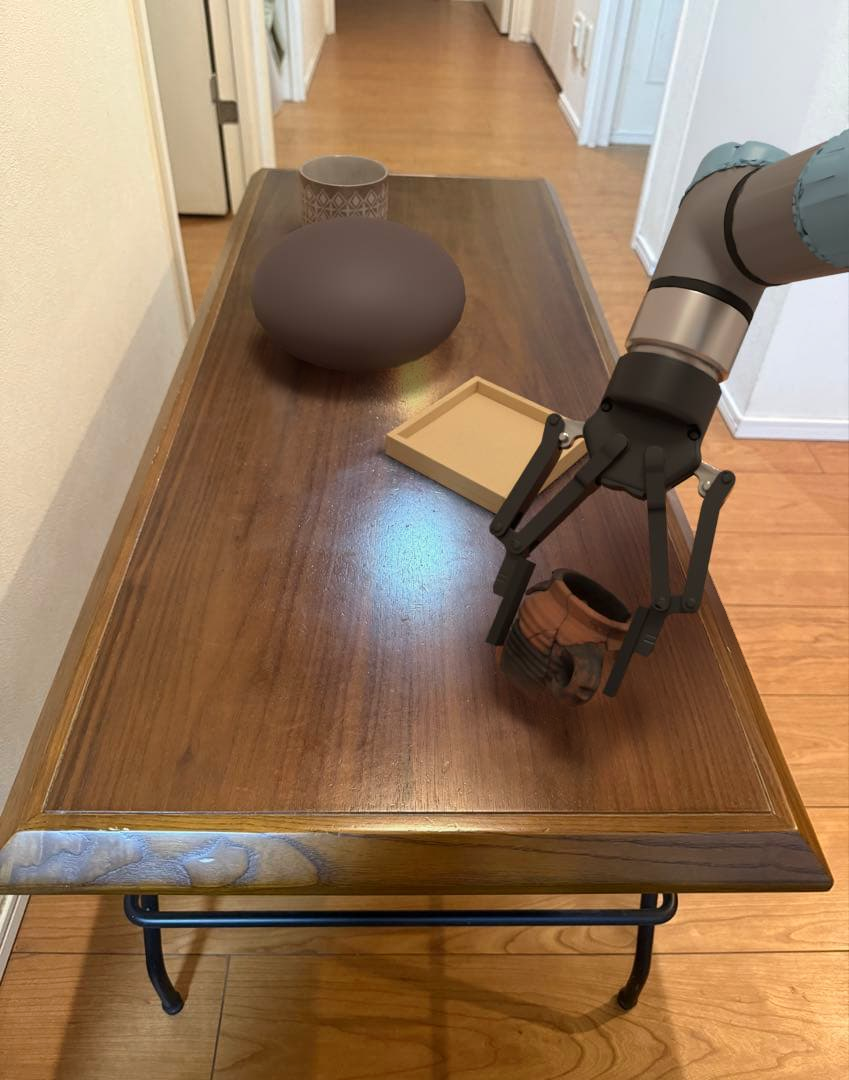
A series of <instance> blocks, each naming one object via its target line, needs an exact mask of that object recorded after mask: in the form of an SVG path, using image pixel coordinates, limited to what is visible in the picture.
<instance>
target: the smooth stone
mask: <svg viewBox="0 0 849 1080" xmlns="http://www.w3.org/2000/svg"><path fill="white" fill-rule="evenodd" d="M249 295H250V296H249V297H250V301H251V305H252V308H253V312H254V316H255V318H256V321H257V322H258V323H259V325H260V326H261V327H262V329H263V331H265V333H266V334H267V336H268V338H270V339H271V340H272V341H273V342H275V343H276V344H277V345H278V346H279V347H281V349H283V350H284V351H286V352H287V353H289V354H291V355H292V356H294V357H296V358H298V359H299V360H302V361H305V362H308V363H310V364H313V365H316V366H319V367H322V368H326V369H330V370H333V371H339V372H340V371H342V372H350V373H369V372H370V373H371V372H381V371H386V370H390V369H395V368H399V367H401V366H404V365H407V364H410V363H414V362H416V361H419V360H420V359H422V358H425V357H426V356H428V355H430V354H431V353H433V352H434V351H435V350H436V349H438V348H439V347H440V346H441V345H442V344H444V343H445V342H446V341H447V340H448V339H449V338H450V337H451V335H452V333H454V331H455V330H456V328H457V327H458V325H459V323H460V322H461V320H462V317H463V313H464V309H465V305H466V301H467V295H466V287H465V280H464V277H463V274H462V272H461V271H460V268H459V266H458V264H457V263H456V261H455V260H454V258H453V257H452V256H451V255H450V253H449V252H448V251H447V250H446V249H445V248H444V247H443V246H442V245H440V244H439V243H438V241H435V240H434V239H433V238H431V237H430V236H428V235H427V234H425V233H424V232H421V231H420V230H418V229H417V228H413V227H411V226H409V225H405V224H402V223H400V222H396V221H392V220H389V219H388V220H385V219H380V218H373V217H356V216H352V217H339V218H332V219H327V220H323V221H319V222H315V223H312V224H309V225H306V226H303V227H302V226H301V227H299V228H297V229H295V230H293V231H291V232H290V233H288V234H286V235H285V236H283V237H282V238H280V239H279V240H278V241H276V242H275V243H273V245H271V246H270V248H269V249H268V250H267V251H266V252H265V253H264V254H263V256H262V257H261V258H260V260H259V262H258V263H257V266H256V268H255V270H254V272H253V274H252V279H251V285H250V294H249Z"/></svg>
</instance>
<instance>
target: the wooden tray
mask: <svg viewBox="0 0 849 1080" xmlns="http://www.w3.org/2000/svg"><path fill="white" fill-rule="evenodd" d="M552 413H557V414H559V415H561V417H562V418H563V419H569V420H572V419H571V418H569V417H567V416H565V415H562V414H560V413H558V412H555V411H554V410H552V409H549V408H547V407H545V406H543V405H541V404H539V403H536V402H534V401H531V400H530V399H527V398H525V397H523V396H521V395H519V394H517V393H514V392H512V391H510V390H508V389H506V388H504V387H501V386H499V385H497V384H495V383H493V382H490V381H489V380H486V379H484V378H482V377H480V376H478V375H474V376H473V377H471V378H470V379H469V380H467V381H465V382H464V383H462V384H461V385H459V386H458V387H456V388H455V389H453V390H451V391H450V392H449V393H447V394H445V395H443V397H441V398H440V399H437V401H435V402H433V403H432V404H430V405H429V406H427V407H426V408H424V409H423V410H421V411H420V412H417V414H415V415H414V416H412V417H410V418H409V419H407V420H406V421H404V422H403V423H400V424H399V425H398V426H397V427H395V428H394V429H392V430H391V431H389V432H387V433H386V434H385V455H387V456H388V457H391V458H392V459H394V460H396V461H398V462H400V463H401V464H404V465H405V466H407V467H409V468H411V469H413V470H414V471H416V472H418V473H419V474H422V475H423V476H426V477H427V478H429V479H431V480H433V481H435V482H436V483H438V484H440V485H442V486H444V487H445V488H447V489H449V490H451V491H453V492H455V493H457V494H458V495H460V496H462V497H464V498H465V499H468V500H470V501H471V502H473V503H475V504H477V505H479V506H480V507H482V508H484V509H486V510H488V511H490V512H491V513H493V514H495V515H496V514H497V513H498V511H499V509H500V508H501V506H502V505H503V503H504V501H505V500H506V498H507V496H508V495H509V493H510V492H511V490H512V488H513V487H514V485H515V484H516V482H517V480H518V479H519V477H520V476H521V474H522V472H523V471H524V469H525V468H526V466H527V464H528V463H529V461H530V459H531V458H532V456H533V455H534V453H535V451H536V450H537V448H538V447H539V445H540V443H541V441H542V436H543V432H544V427H545V423H546V419H547V417H548V416H549V415H550V414H552ZM586 454H588V452H587V449H586V445H585V441H584V438H579V439H577V440H576V441H575V442H574V444H573V446H572V447H571V448H570V449H567V450H563V451H562V454H561V456H560V459H559V460H558V462H557V464H556V466H555V467H554V469H553V470H552V472H551V474H550V475H549V477H548V478H547V480H546V482H545V483H544V485H543V486H542V488H541V490H540V491H539V493H538V494H537V496H538V495H539V494H540V493H541V492H543V491H544V490H545V489H546V488H547V487H549V486H550V485H551V484H552V483H553V482H554V481H555V480H556V479H558V478H559V477H560V476H561V475H562V474H564V473H565V472H566V471H567V470H569V469H570V468H571V467H572V466H573V465H574V464H576V462H578V461H579V460H580V459H581V458H582V457H584V456H585V455H586Z"/></svg>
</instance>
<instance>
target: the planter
mask: <svg viewBox="0 0 849 1080" xmlns="http://www.w3.org/2000/svg"><path fill="white" fill-rule="evenodd" d="M389 171H390V170H389V168H388V167H387V166H386V165H385V164H384V163H383V162H381V161H380V160H377V159H375V158H372V157H368V156H362V155H357V154H345V153H337V154H335V153H334V154H323V155H319V156H315V157H310V158H309V159H306V160H304V161H303V162H302V163H301V164H300V165H299V167H298V177H299V179H298V181H299V198H300V218H301V221H300V222H301V227H303V226H306V225H309V224H312V223H315V222H319V221H323V220H327V219H332V218H339V217H352V216H356V217H373V218H380V219H385V220H389V219H388V215H389V176H390V175H389Z"/></svg>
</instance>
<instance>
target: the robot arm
mask: <svg viewBox="0 0 849 1080" xmlns="http://www.w3.org/2000/svg"><path fill="white" fill-rule="evenodd" d="M652 273H653V274H652V276H651V279H650V281H649V283H648V287H647V290H646V293H645V294H644V296H643V298H642V301H641V302H640V305H639V307H638V310H637V313H636V315H635V317H634V319H633V322H632V325H631V327H630V330H629V331H628V333H627V337H626V339H625V341H624V348H625V350H626V353H624V354H623V355H621V356H619V357H618V359H617V362H616V364H615V366H614V369H613V371H612V373H611V376H610V379H609V381H608V383H607V387H606V388H605V391H604V394H603V396H602V398H601V401H600V404H599V406H598V407H597V409H596V411H594V413H593V414H592V415H591V416H590V417H588V418H587V419H586V420H585V421H582V420H576V419H571V420H569V419H570V418H569V419H563V418H562V417H561V415H562V414H560V413H558V412H556V413H552V414H550V415H549V416H548V417H547V419H546V423H545V427H544V432H543V436H542V441H541V443H540V445H539V447H538V448H537V450H536V451H535V453H534V455H533V456H532V458H531V459H530V461H529V463H528V464H527V466H526V468H525V469H524V471H523V472H522V474H521V476H520V477H519V479H518V480H517V482H516V484H515V485H514V487H513V488H512V490H511V492H510V493H509V495H508V496H507V498H506V500H505V501H504V503H503V505H502V506H501V508H500V509H499V511H498V513H497V514H495V516H494V518H493V519H492V520H491V522H490V523H489V527H488V531H489V532H490V534H491V535H492V536H494V538H495V539H497V540H498V541H499V542H500V543H501V544H502V545H503V546H504V549H505V555H504V557H503V559H502V562H501V565H500V568H499V570H498V573H497V575H496V577H495V580H494V582H493V585H492V594H494V595H496V596H498V597H501V598H502V599H501V602H500V604H499V607H498V609H497V612H496V614H495V616H494V618H493V622H492V624H491V625H490V629H489V630H488V634H487V635H486V638H485V641H484V643H487V644H489V645H491V646H493V647H498V646H503V645H504V642H505V640H506V637H507V635H508V633H509V630H510V631H511V629H512V625H513V623H514V621H515V619H516V615H517V613H518V611H519V608H520V606H521V604H522V600H523V598H524V595H525V592H526V591H527V589H528V585H529V583H530V581H531V579H532V576H533V573H534V571H535V569H536V566H537V564H536V562H533V561H531V560H529V559H527V558H530V557H531V555H530V554H532V553H533V551H534V550H535V549H537V547H538V546H540V544H542V543H543V542H544V541H545V540H546V539H547V538H548V537H549V536H550V535H551V534H552V533H553V532H554V531H555V530H556V529H557V528H558V527H559V526H560V525H561V524H562V523H563V522H564V521H565V520H567V518H568V517H569V516H570V515H571V514H572V513H574V511H575V510H576V509H577V508H578V507H579V506H580V505H581V504H582V503H583V502H585V500H587V499H588V497H589V496H592V495H593V494H594V493H595V492H597V491H598V490H599V489H600V488H601V487H602V488H605V489H608V490H611V491H616V492H624V493H626V494H628V495H629V496H631V497H632V498H633V499H636V500H639V501H641V502H645V501H646V510H647V524H648V525H647V526H648V550H649V569H650V570H649V571H650V594H651V597H650V598H651V602H650V605H649V607H646V606H644V605H641V604H637V607H636V609H635V612H634V614H633V615H632V618H631V620H632V621H631V624H630V626H629V628H628V631H627V633H626V636H625V638H624V641H623V643H622V646H621V648H620V651H619V653H618V655H617V658H616V660H614V663H613V665H612V667H611V670H610V673H609V675H608V677H607V680H606V683H605V685H604V686H603V687H604V688H603V690H602V692H601V694H602V695H604V696H607V697H608V698H610V699H614V698H616V696H617V695H618V692H619V690H620V687H621V685H622V683H623V680H624V678H625V675H626V673H627V670H628V668H629V665H630V663H631V660H632V658H633V656H634V654H637V655H639V656H642V657H644V658H648V656H650V655H651V654H652V653H653V651H654V649H655V646H656V644H657V641H658V639H659V637H660V634H661V632H662V630H663V627H664V624H665V622H666V620H667V618H668V617H669V616H671V615H672V614H687V615H694V614H696V613H698V612H699V611H700V608H701V604H702V599H703V595H704V590H705V586H706V585H705V584H706V581H707V576H708V570H709V565H710V560H711V555H712V551H713V546H714V541H715V536H716V530H717V527H718V526H717V525H718V522H719V517H720V513H721V509H722V508H723V506H724V504H725V503H726V501H727V500H728V498H729V497H730V495H731V493H733V491H734V488H735V485H736V481H737V477H736V474H735V473H734V472H733V471H732V470H728V469H723V470H720V469H718V468H717V467H715V466H713V465H711V464H709V463H707V462H705V461H704V460H703V455H702V445H703V441H704V438H705V437H706V434H707V431H708V429H709V427H710V424H711V422H712V419H713V417H714V414H715V412H716V409H717V406H718V405H719V402H720V400H721V397H722V394H723V390H722V388H721V386H720V384H722V383H724V382H726V381H727V380H729V378H730V375H731V372H732V369H733V368H734V366H735V363H736V360H737V358H738V356H739V353H740V350H741V348H742V345H743V343H744V341H745V338H746V335H747V333H748V331H749V328H750V326H751V323H752V321H753V319H754V316H755V313H756V311H757V308H758V306H759V304H760V301H761V299H762V297H763V295H764V293H765V290H766V289H767V288H771V287H780V286H784V285H789V284H792V283H798V282H803V281H807V280H808V281H809V280H814V279H819V278H820V279H821V278H824V277H830V276H836V275H840V274H842V275H843V274H847V273H849V128H847V129H845V130H843V131H842V132H841V133H840V134H837V135H834V136H832V137H830V138H828V139H827V140H825V141H822V142H821V143H818V144H816V145H814V146H813V145H812V146H810V147H807V148H806V149H804V150H801V151H799V152H796V153H794V154H792V155H791V154H790V153H789V152H787V151H786V150H785V149H784V150H783V149H782V148H780V147H777V146H775V145H773V144H771V143H766V142H762V141H757V140H746V142H744V143H739V142H736V141H729V142H725V143H722V144H719V145H718V146H717V145H716V146H715V147H714V148H712V149H711V150H710V151H708V152H707V153H706V154H705V156H704V157H703V158H702V160H701V161H700V163H699V164H698V167H697V170H696V171H695V173H694V176H693V178H692V180H691V182H690V184H689V185H688V186H687V188H686V189H685V191H684V195H682V196H681V199H680V202H679V204H678V207H677V212H676V215H675V217H674V219H673V223H672V224H671V227H670V230H669V233H668V235H667V238H666V240H665V243H664V246H663V248H662V250H661V253H660V255H659V258H658V260H657V263H656V266H655V269H654V270H653V272H652ZM557 413H558V414H557ZM559 414H560V415H559ZM579 438H584V441H585V445H586V449H587V455H588V459H589V460H587V461H586V462H585V463H584V465H582V466H581V467H580V468H579V469H578V470H577V472H575V474H574V475H573V477H572V479H571V480H570V481H568V483H567V484H566V485H565V486H564V487H563V488H561V489H560V491H558V492H557V493H556V494H555V496H553V497H552V499H550V500H549V501H548V502H547V503H546V504H545V506H543V507H542V508H541V509H540V510H539V511H538V512H537V513H536V514H535V515H534V516H533V517H532V518H531V519H530V520H529V521H528V522H526V524H525V525H524V526H523V527H522V528H521V529H520V530H519V531H518V532H517V531H516V530H517V528H518V526H520V523H521V522H522V520H523V519H524V517H525V516H526V514H527V512H528V511H529V509H530V507H531V506H532V504H533V502H534V501H535V499H536V497H537V496H538V495H539V494H540V493H539V491H540V490H541V488H542V486H543V485H544V483H545V482H546V480H547V478H548V477H549V475H550V474H551V472H552V470H553V469H554V467H555V466H556V464H557V462H558V460H559V459H560V456H561V454H562V451H563V450H567V449H570V448H571V447H572V446H573V444H574V442H575V441H576V440H577V439H579ZM693 476H694V477H696V478H697V480H698V485H697V493H698V495H699V497H700V498H702V499H703V500H702V502H701V507H700V509H699V515H698V519H697V525H696V529H695V535H694V539H693V544H692V548H691V549H692V550H691V553H690V554H691V555H690V558H689V564H688V569H687V574H686V578H685V584H684V588H683V592H682V594H675V593H673V594H672V590H671V589H672V588H671V587H672V586H671V568H670V567H671V566H670V548H669V547H670V546H669V545H670V543H669V526H668V525H669V522H668V500H667V499H668V498H667V493H668V492H670V491H671V490H672V489H674V488H676V487H678V486H679V485H681V484H682V483H684V482H685V481H687V480H688V479H690V478H692V477H693ZM538 493H539V494H538ZM537 494H538V495H537Z"/></svg>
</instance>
